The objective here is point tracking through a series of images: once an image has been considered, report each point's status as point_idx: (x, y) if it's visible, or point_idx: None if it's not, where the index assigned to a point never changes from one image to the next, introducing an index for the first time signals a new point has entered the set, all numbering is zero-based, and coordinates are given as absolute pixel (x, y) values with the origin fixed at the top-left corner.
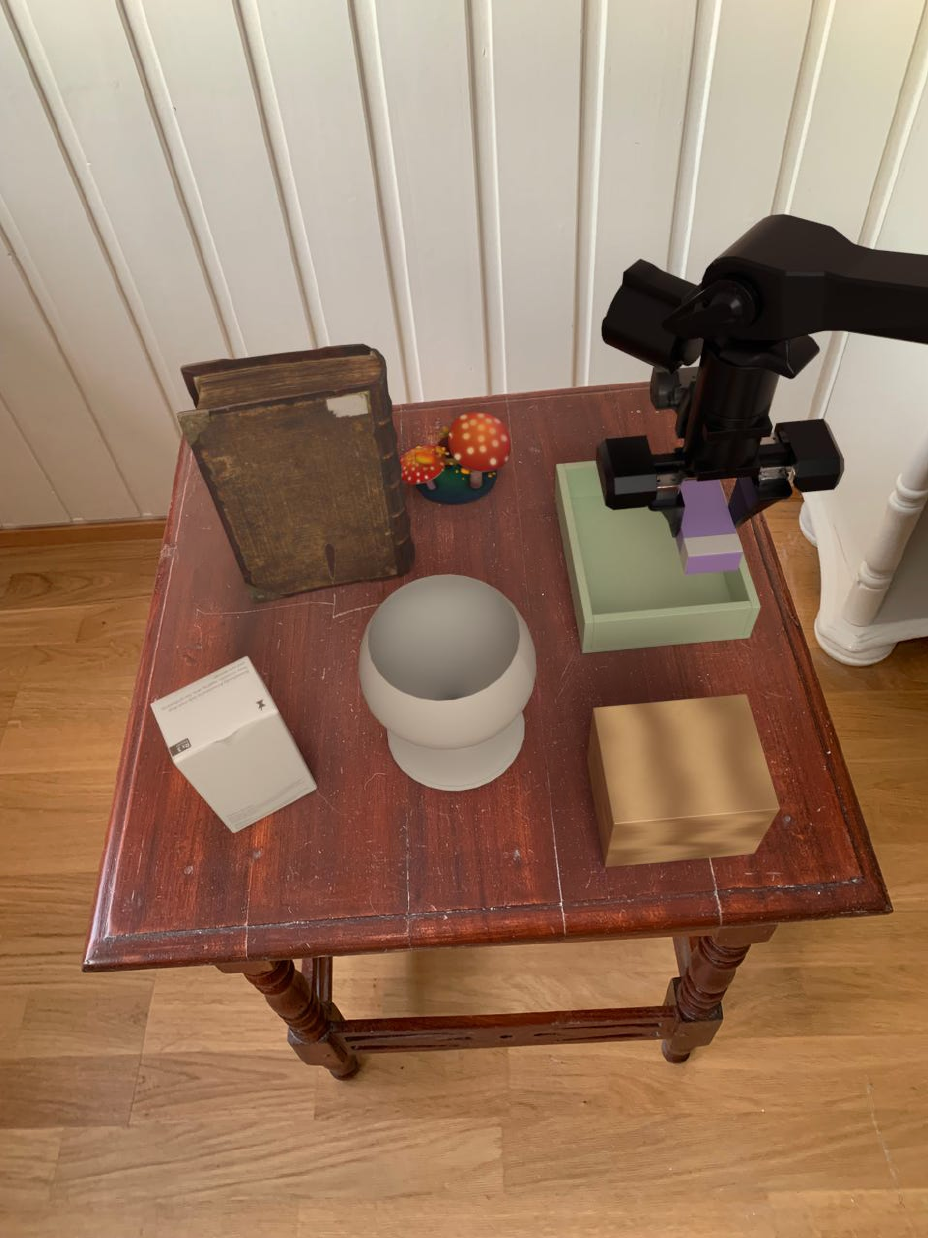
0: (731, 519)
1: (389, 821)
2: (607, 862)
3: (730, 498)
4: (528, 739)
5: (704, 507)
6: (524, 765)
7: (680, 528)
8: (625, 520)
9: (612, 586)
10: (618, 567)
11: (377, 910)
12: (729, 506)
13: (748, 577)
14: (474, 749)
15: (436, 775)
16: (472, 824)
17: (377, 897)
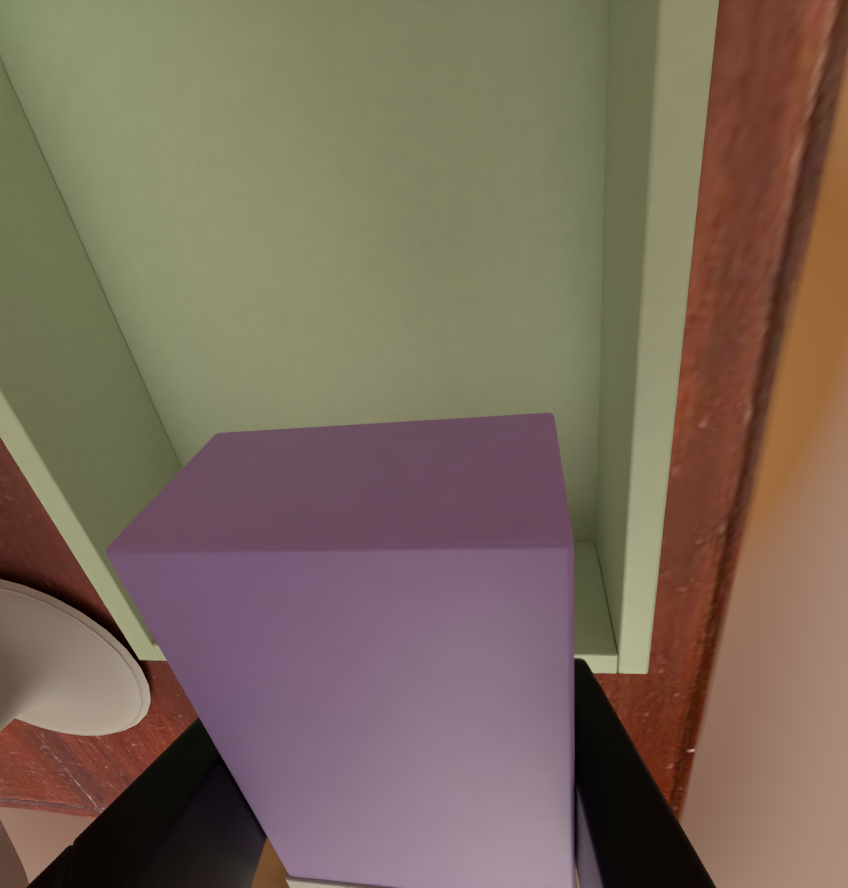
0: (569, 857)
1: (21, 739)
2: None
3: (594, 863)
4: (161, 679)
5: (405, 774)
6: (169, 708)
7: (263, 847)
8: (239, 70)
9: (242, 397)
10: (248, 325)
11: (63, 801)
12: (581, 813)
13: (645, 584)
14: (73, 712)
15: (41, 725)
16: (127, 755)
17: (56, 793)
